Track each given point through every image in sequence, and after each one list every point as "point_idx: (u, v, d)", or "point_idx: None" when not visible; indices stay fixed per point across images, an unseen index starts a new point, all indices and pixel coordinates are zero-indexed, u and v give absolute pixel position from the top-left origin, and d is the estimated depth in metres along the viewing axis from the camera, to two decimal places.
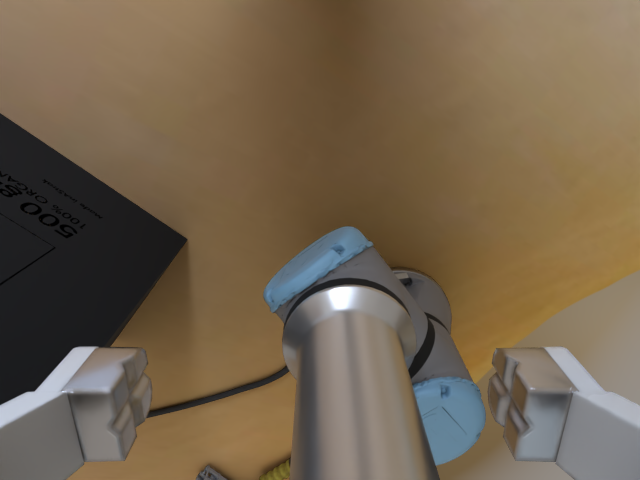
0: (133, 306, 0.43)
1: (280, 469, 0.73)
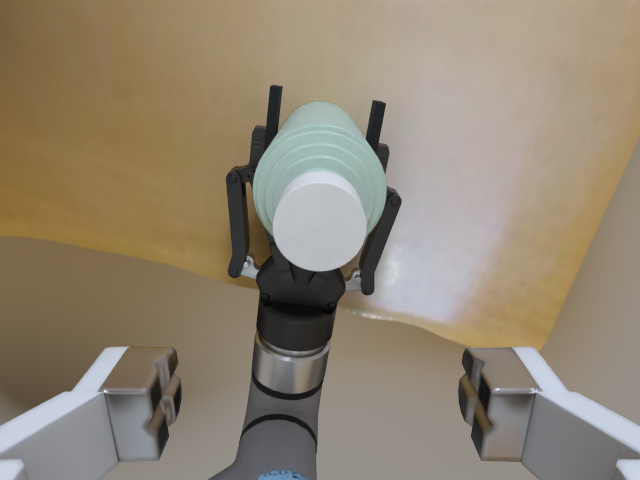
0: None
1: None
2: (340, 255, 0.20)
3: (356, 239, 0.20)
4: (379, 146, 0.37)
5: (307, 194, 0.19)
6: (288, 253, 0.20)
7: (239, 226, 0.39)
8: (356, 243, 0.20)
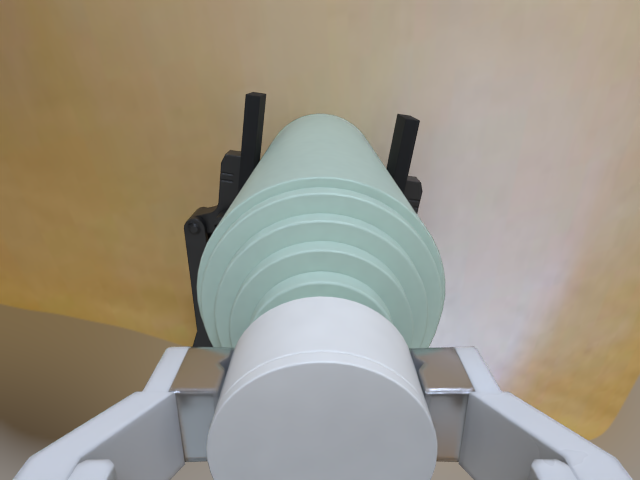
0: None
1: None
2: None
3: (411, 479, 0.08)
4: (408, 182, 0.25)
5: (291, 387, 0.08)
6: None
7: None
8: None
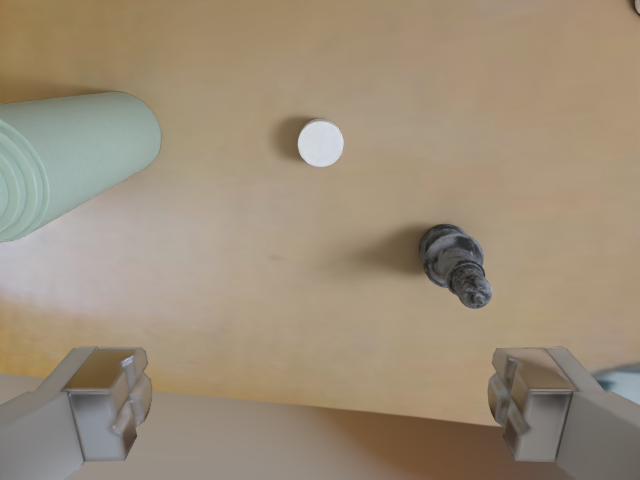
0: None
1: None
2: (337, 139, 0.41)
3: (331, 129, 0.41)
4: None
5: (302, 144, 0.41)
6: (327, 163, 0.42)
7: None
8: (333, 129, 0.41)
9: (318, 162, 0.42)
